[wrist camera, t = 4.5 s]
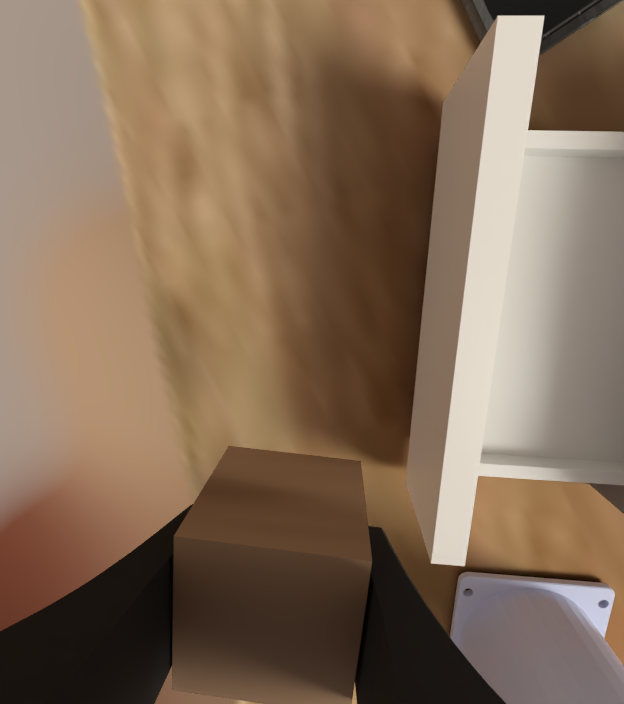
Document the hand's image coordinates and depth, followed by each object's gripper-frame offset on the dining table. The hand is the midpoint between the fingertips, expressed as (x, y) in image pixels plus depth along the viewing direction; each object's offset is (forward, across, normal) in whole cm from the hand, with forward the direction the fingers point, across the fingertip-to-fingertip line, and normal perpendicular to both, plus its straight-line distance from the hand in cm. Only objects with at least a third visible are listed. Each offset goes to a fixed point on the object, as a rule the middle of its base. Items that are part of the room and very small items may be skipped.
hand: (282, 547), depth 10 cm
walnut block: (+2, 0, 0) cm, 2 cm away
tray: (+8, -13, -6) cm, 17 cm away
